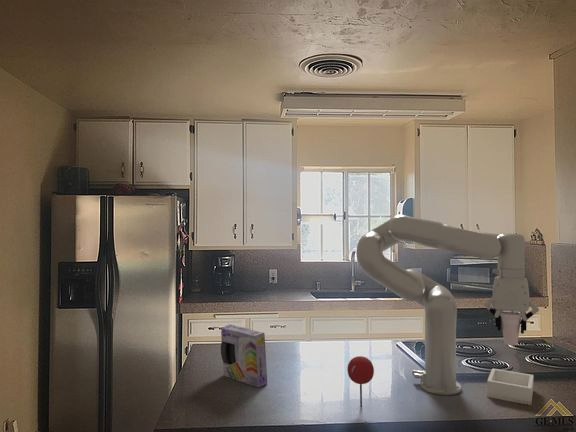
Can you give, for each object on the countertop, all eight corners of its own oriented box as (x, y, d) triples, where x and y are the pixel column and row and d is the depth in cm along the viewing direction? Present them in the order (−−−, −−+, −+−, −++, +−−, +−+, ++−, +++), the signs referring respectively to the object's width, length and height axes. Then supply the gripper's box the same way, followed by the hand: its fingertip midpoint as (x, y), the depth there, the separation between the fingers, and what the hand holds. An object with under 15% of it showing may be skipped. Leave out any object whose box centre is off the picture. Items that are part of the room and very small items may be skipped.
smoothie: (525, 347, 137) (525, 301, 137) (502, 346, 139) (502, 300, 138) (518, 340, 144) (518, 297, 143) (497, 339, 145) (497, 296, 145)
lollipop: (347, 401, 138) (347, 352, 137) (373, 402, 137) (372, 353, 136) (348, 413, 130) (347, 361, 130) (375, 414, 129) (374, 362, 129)
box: (487, 396, 140) (487, 380, 140) (492, 383, 150) (492, 368, 150) (531, 405, 133) (531, 388, 133) (533, 390, 144) (533, 375, 144)
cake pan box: (220, 375, 160) (219, 325, 160) (231, 371, 164) (230, 322, 163) (257, 389, 147) (256, 335, 147) (268, 385, 151) (267, 332, 150)
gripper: (479, 273, 142) (479, 330, 142) (542, 277, 133) (542, 338, 133) (482, 270, 148) (482, 324, 149) (543, 273, 139) (542, 331, 140)
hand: (510, 330), depth 141 cm, fingers closed on smoothie, 5 cm apart
